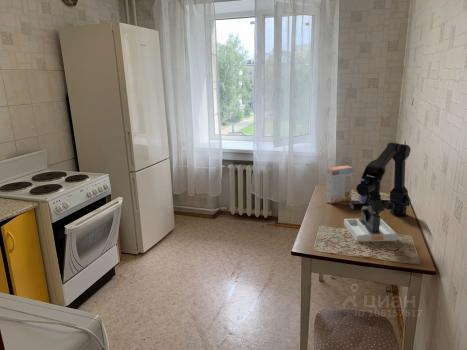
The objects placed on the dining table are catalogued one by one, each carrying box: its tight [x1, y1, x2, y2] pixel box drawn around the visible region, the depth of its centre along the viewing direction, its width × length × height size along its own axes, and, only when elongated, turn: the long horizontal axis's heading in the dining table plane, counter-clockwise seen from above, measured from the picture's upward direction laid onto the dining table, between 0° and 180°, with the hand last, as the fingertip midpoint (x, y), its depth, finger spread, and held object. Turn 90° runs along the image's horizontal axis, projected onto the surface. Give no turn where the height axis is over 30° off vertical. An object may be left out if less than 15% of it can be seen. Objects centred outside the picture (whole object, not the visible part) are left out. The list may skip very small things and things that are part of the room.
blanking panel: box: [360, 207, 381, 233], centre depth 160 cm, size 3×14×8 cm, turn 0°
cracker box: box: [325, 164, 354, 204], centre depth 201 cm, size 14×6×21 cm, turn 108°
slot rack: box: [343, 217, 399, 243], centre depth 162 cm, size 18×19×3 cm
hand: (370, 221), depth 161 cm, fingers closed on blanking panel, 3 cm apart
